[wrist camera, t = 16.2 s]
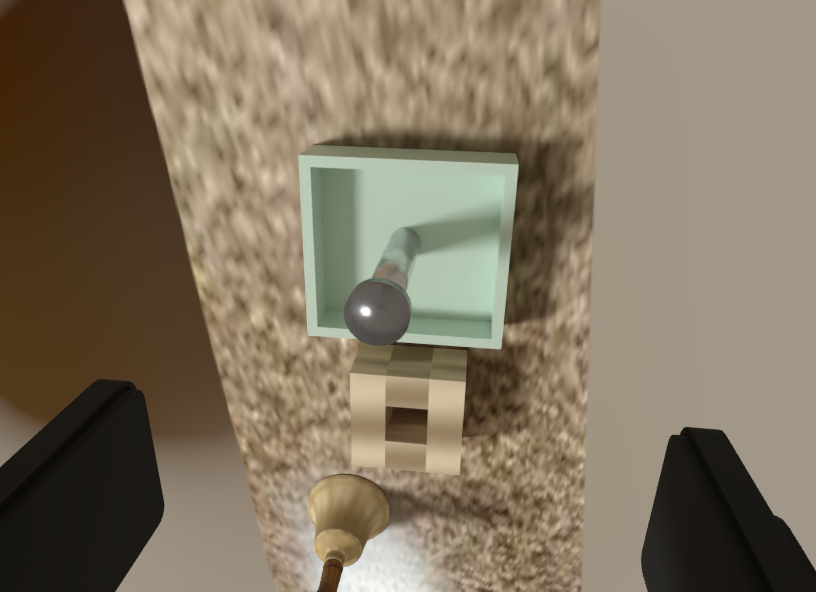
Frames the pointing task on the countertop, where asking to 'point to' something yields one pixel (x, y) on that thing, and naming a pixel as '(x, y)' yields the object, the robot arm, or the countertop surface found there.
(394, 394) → the hitch block
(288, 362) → the countertop surface
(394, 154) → the tray
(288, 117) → the countertop surface
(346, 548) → the hand bell
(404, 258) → the steel pin
